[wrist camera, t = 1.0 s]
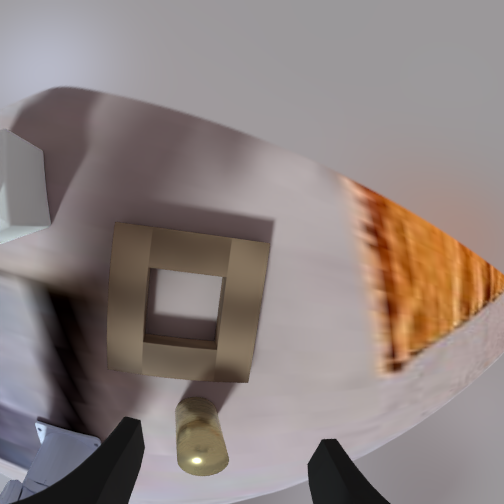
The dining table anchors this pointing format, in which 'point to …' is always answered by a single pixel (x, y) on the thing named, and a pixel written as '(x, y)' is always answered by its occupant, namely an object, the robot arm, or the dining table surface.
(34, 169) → the medicine bottle
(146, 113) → the dining table surface
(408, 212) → the dining table surface
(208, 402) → the brass peg
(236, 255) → the square tan frame
